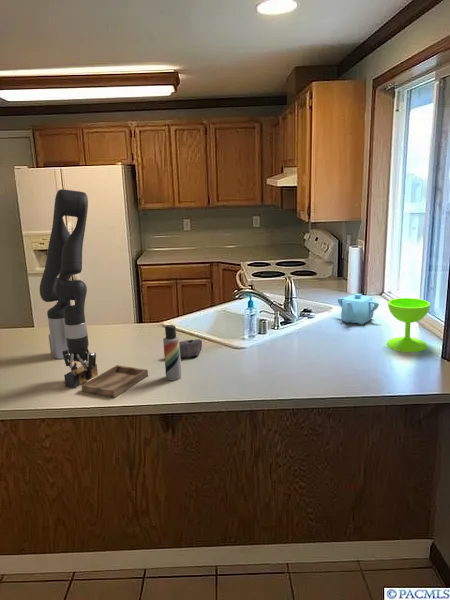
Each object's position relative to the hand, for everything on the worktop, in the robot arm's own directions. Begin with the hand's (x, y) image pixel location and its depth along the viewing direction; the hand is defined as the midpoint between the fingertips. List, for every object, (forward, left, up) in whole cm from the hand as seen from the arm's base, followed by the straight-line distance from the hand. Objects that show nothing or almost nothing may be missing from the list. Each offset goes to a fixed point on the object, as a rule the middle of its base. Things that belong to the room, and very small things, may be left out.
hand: (81, 378), depth 188 cm
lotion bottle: (+31, +14, -1) cm, 34 cm away
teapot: (+79, +102, -1) cm, 129 cm away
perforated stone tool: (+24, +34, -1) cm, 42 cm away
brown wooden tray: (+14, +2, -1) cm, 14 cm away
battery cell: (0, 0, -1) cm, 1 cm away
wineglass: (+105, +76, -1) cm, 130 cm away
